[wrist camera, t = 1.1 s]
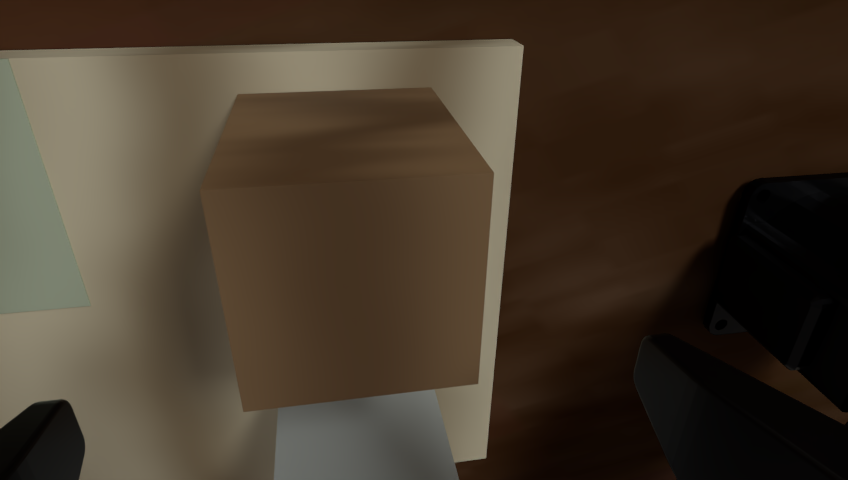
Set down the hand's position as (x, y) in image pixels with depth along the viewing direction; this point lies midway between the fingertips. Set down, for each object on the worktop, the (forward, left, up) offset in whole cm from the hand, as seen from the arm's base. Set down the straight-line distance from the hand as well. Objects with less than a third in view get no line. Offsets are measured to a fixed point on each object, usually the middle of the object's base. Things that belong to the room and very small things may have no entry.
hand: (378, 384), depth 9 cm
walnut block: (0, 0, -8) cm, 8 cm away
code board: (+5, +4, -9) cm, 12 cm away
